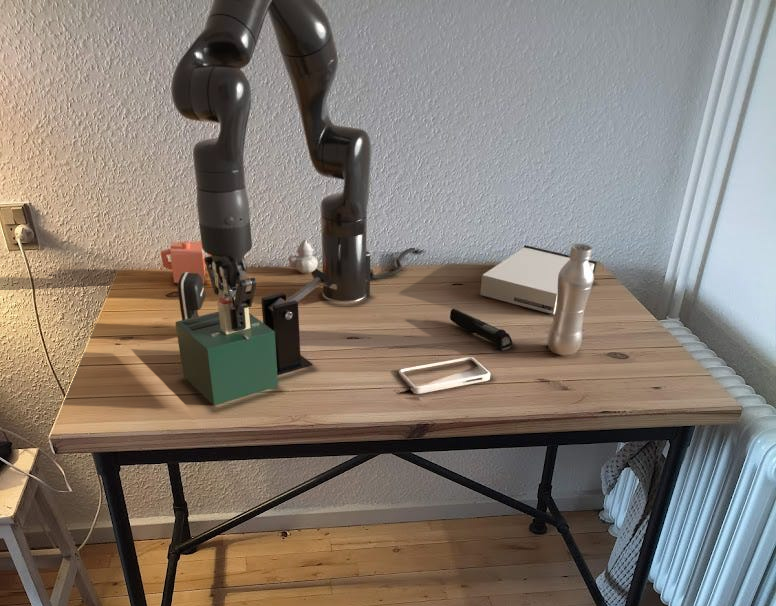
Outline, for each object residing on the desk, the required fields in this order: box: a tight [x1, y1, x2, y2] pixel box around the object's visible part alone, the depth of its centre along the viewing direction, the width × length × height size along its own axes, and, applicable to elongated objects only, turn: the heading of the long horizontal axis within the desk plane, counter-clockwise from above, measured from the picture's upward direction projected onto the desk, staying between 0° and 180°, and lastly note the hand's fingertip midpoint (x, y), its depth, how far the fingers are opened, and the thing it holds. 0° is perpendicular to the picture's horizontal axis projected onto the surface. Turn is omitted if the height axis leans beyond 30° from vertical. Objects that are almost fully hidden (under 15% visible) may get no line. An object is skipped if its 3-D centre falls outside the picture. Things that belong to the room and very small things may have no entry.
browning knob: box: [217, 297, 250, 334], centre depth 124 cm, size 4×2×5 cm, turn 126°
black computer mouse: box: [177, 272, 206, 320], centre depth 145 cm, size 7×4×11 cm, turn 2°
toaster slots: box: [183, 313, 220, 330], centre depth 128 cm, size 9×4×1 cm, turn 126°
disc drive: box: [479, 244, 598, 315], centre depth 170 cm, size 18×22×5 cm
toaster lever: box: [268, 268, 334, 316], centre depth 133 cm, size 12×5×2 cm, turn 126°
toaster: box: [175, 311, 279, 406], centre depth 129 cm, size 12×12×11 cm
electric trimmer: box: [449, 308, 513, 351], centre depth 151 cm, size 4×16×3 cm, turn 39°
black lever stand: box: [260, 292, 313, 377], centre depth 135 cm, size 8×7×13 cm
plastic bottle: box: [546, 243, 595, 356], centre depth 141 cm, size 6×7×20 cm
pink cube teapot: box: [160, 240, 211, 285], centre depth 167 cm, size 8×12×8 cm, turn 102°
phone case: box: [398, 356, 491, 395], centre depth 137 cm, size 7×1×15 cm
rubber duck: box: [288, 237, 319, 274], centre depth 173 cm, size 5×7×8 cm
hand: (235, 326), depth 125 cm, fingers closed on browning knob, 2 cm apart
